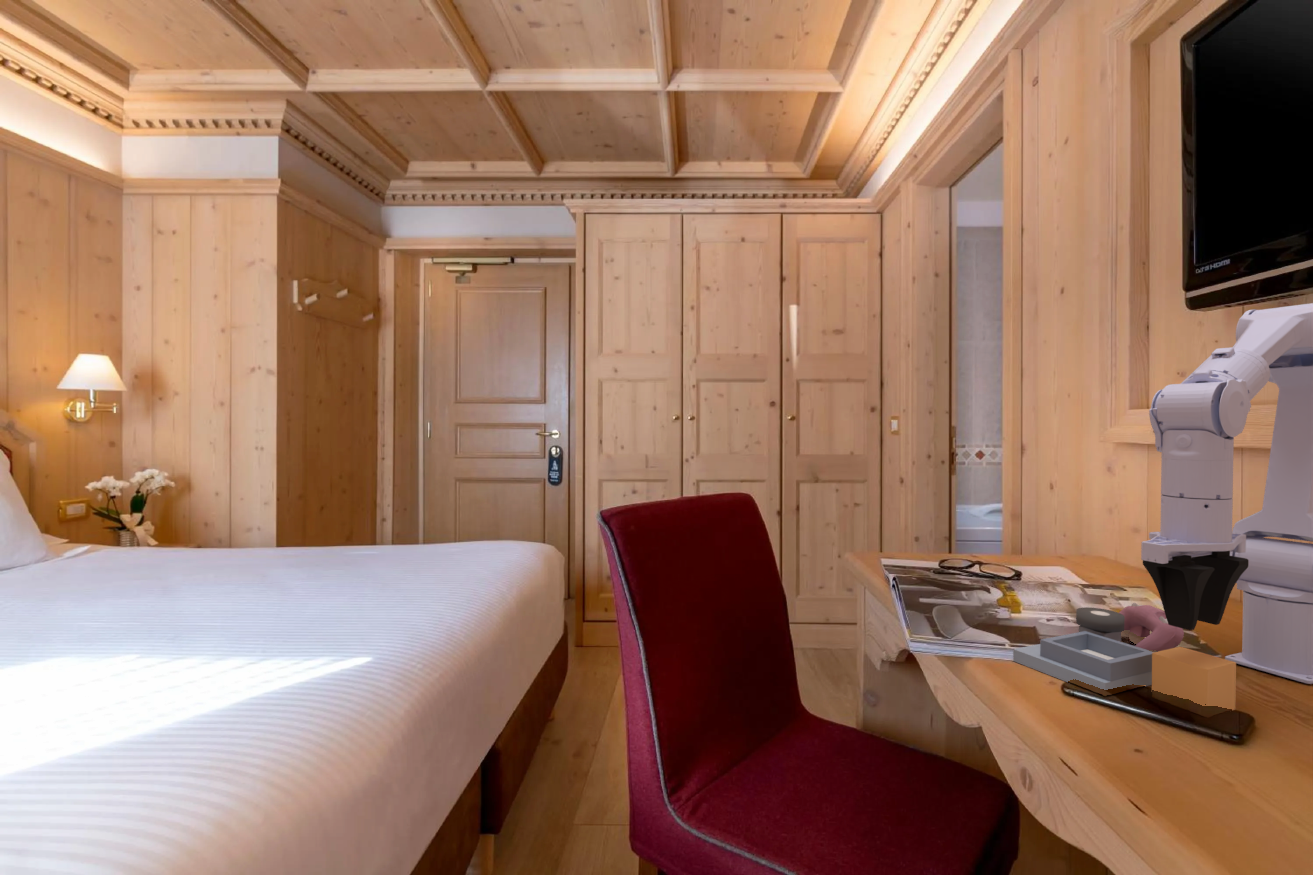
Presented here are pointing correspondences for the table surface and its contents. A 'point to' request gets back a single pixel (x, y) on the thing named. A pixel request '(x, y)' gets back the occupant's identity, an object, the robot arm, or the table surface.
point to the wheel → (1100, 619)
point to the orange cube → (1195, 677)
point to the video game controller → (1151, 627)
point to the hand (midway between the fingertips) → (1193, 624)
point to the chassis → (1089, 659)
